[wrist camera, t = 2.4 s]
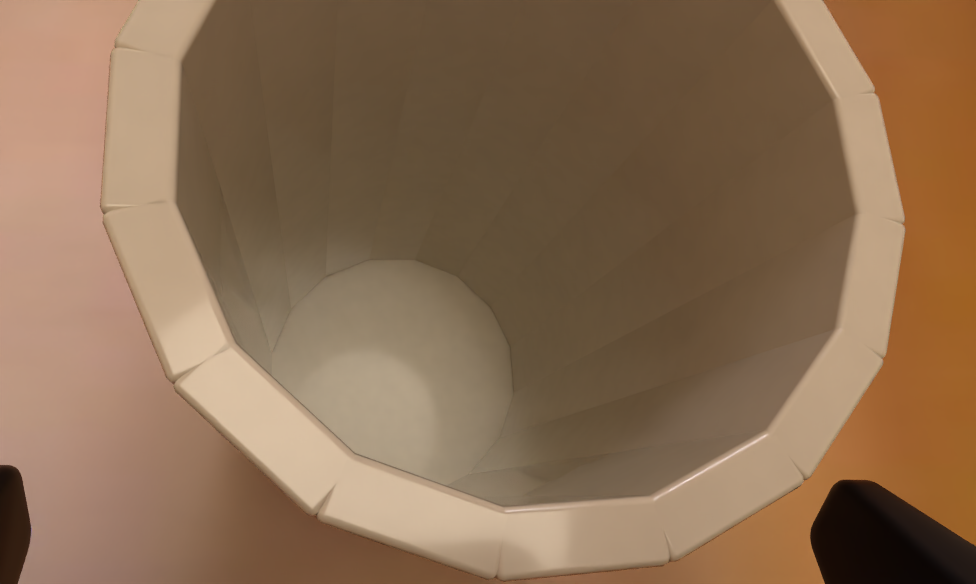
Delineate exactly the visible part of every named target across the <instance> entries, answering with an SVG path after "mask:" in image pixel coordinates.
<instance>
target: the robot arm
mask: <svg viewBox="0 0 976 584" xmlns="http://www.w3.org/2000/svg"><path fill="white" fill-rule="evenodd" d="M30 537H31V524H30V518H29V513H28V507H27V502H26V497H25V492H24V486H23V481H22V477H21V474H20V472H19V470H18V469H17V468H16V467H13V466H10V465H0V584H18V581H19V577H20V574H21V571H22V568H23V565H24V562H25V558H26V555H27V552H28V548H29V544H30ZM810 539H811V545H812V549H813V552H814V555H815V557H816V560H817V563H818V566H819V568H820V571H821V574H822V577H823V579H824V582H825V584H976V546H974V545H972V544H971V543H969V542H968V541H966V540H965V539H963V538H961V537H960V536H958V535H957V534H955V533H954V532H952V531H951V530H949V529H947V528H946V527H944V526H943V525H941V524H940V523H938V522H936V521H935V520H933V519H932V518H930V517H929V516H927V515H926V514H924V513H922V512H921V511H919V510H918V509H916V508H915V507H913V506H911V505H910V504H908V503H907V502H905V501H904V500H902V499H900V498H899V497H897V496H896V495H894V494H893V493H891V492H890V491H888V490H886V489H885V488H883V487H882V486H880V485H879V484H877V483H875V482H872V481H868V480H841V481H838V482H837V483H836V484H834V485H833V487H832V488H831V490H830V492H829V494H828V496H827V498H826V500H825V501H824V503H823V505H822V507H821V509H820V511H819V513H818V515H817V517H816V519H815V521H814V523H813V525H812V527H811V533H810Z"/></svg>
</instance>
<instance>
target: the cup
mask: <svg viewBox="0 0 976 584" xmlns="http://www.w3.org/2000/svg"><path fill="white" fill-rule="evenodd" d="M114 47H115V48H113V50H112V52H111V55H110V67H109V82H108V96H107V111H106V126H105V140H104V155H103V170H102V185H101V199H100V208H101V210H102V212H103V214H104V215H103V225H104V227H105V230H106V232H107V234H108V237H109V239H110V242H111V244H112V247H113V249H114V252H115V254H116V256H117V259H118V261H119V264H120V266H121V269H122V271H123V273H124V276H125V278H126V281H127V283H128V286H129V288H130V291H131V293H132V295H133V298H134V300H135V303H136V305H137V308H138V310H139V313H140V315H141V317H142V320H143V322H144V325H145V327H146V330H147V332H148V334H149V337H150V339H151V342H152V344H153V347H154V349H155V352H156V354H157V356H158V359H159V361H160V364H161V366H162V369H163V371H164V373H165V376H166V378H167V379H168V380H169V381H170V382H171V383H173V384H174V386H173V387H174V389H175V391H176V393H177V394H179V395H180V396H181V397H182V398H183V399H184V400H185V401H186V402H187V403H188V404H189V405H190V406H191V407H192V408H194V409H195V410H196V411H197V412H198V413H199V414H200V415H201V416H202V417H203V418H204V419H205V420H206V421H207V422H209V423H210V424H211V425H212V426H213V427H214V428H215V429H216V430H217V431H218V432H219V433H220V434H221V435H222V436H224V437H225V438H226V439H227V440H228V441H229V442H230V443H231V444H232V445H233V446H234V447H235V448H236V449H237V450H239V451H240V452H241V453H242V454H243V455H244V456H245V457H246V458H247V459H248V460H249V461H250V462H251V463H252V464H254V465H255V466H256V467H257V468H258V469H259V470H260V471H261V472H262V473H263V474H264V475H265V476H266V477H267V478H269V479H270V480H271V481H272V482H273V483H274V484H275V485H276V486H277V487H278V488H279V489H280V490H281V491H282V492H284V493H285V494H286V495H287V496H288V497H289V498H290V499H291V500H292V501H293V502H294V503H295V504H296V505H297V506H299V507H300V508H301V509H302V510H303V511H304V512H305V513H306V514H308V515H310V516H315V515H317V519H318V520H319V521H320V522H321V523H323V524H326V525H329V526H332V527H335V528H337V529H340V530H343V531H346V532H349V533H352V534H355V535H358V536H361V537H364V538H366V539H369V540H372V541H375V542H378V543H381V544H384V545H387V546H390V547H393V548H395V549H398V550H401V551H404V552H407V553H410V554H413V555H416V556H419V557H422V558H425V559H427V560H430V561H433V562H436V563H439V564H442V565H445V566H448V567H451V568H454V569H456V570H459V571H462V572H465V573H468V574H471V575H474V576H477V577H480V578H483V579H485V580H490V579H494V578H495V579H497V580H500V581H503V582H507V581H517V580H527V579H537V578H547V577H558V576H568V575H578V574H588V573H598V572H608V571H619V570H629V569H639V568H649V567H659V566H664V565H665V564H667V563H669V561H670V562H674V561H678V560H680V559H682V558H683V557H685V556H687V555H688V554H690V553H692V552H693V551H695V550H696V549H698V548H700V547H701V546H703V545H705V544H706V543H708V542H710V541H711V540H713V539H715V538H716V537H718V536H719V535H721V534H723V533H724V532H726V531H728V530H729V529H731V528H733V527H734V526H736V525H737V524H739V523H741V522H742V521H744V520H746V519H747V518H749V517H751V516H752V515H754V514H755V513H757V512H759V511H760V510H762V509H764V508H765V507H767V506H769V505H770V504H772V503H774V502H775V501H777V500H778V499H780V498H782V497H783V496H785V495H787V494H788V493H790V492H792V491H793V490H795V489H796V488H798V487H799V486H801V485H802V483H803V482H804V480H807V479H808V478H810V477H811V475H812V474H813V472H814V471H815V469H816V468H817V466H818V464H819V463H820V461H821V460H822V458H823V457H824V455H825V454H826V452H827V450H828V449H829V447H830V446H831V444H832V443H833V441H834V440H835V438H836V436H837V435H838V433H839V432H840V430H841V429H842V427H843V426H844V424H845V423H846V421H847V419H848V418H849V416H850V415H851V413H852V412H853V410H854V409H855V407H856V405H857V404H858V402H859V401H860V399H861V398H862V396H863V395H864V393H865V391H866V390H867V388H868V387H869V385H870V384H871V382H872V381H873V379H874V377H875V376H876V374H877V373H878V371H879V370H880V368H881V367H882V365H883V360H882V359H883V358H884V357H885V355H886V352H887V346H888V339H889V333H890V326H891V320H892V313H893V307H894V301H895V294H896V288H897V281H898V275H899V268H900V262H901V255H902V249H903V243H904V236H905V226H904V225H903V223H904V221H905V216H904V211H903V207H902V202H901V197H900V193H899V188H898V184H897V179H896V174H895V170H894V165H893V161H892V156H891V152H890V147H889V142H888V138H887V133H886V129H885V124H884V119H883V115H882V110H881V106H880V101H879V97H878V96H877V95H876V94H874V92H875V88H874V85H873V84H872V82H871V80H870V79H869V77H868V75H867V74H866V72H865V70H864V69H863V67H862V65H861V64H860V62H859V60H858V59H857V57H856V55H855V53H854V52H853V50H852V48H851V47H850V45H849V43H848V42H847V40H846V38H845V37H844V35H843V33H842V32H841V30H840V28H839V27H838V25H837V23H836V22H835V20H834V18H833V17H832V15H831V13H830V12H829V10H828V8H827V7H826V5H825V3H824V2H823V0H138V2H137V4H136V5H135V7H134V9H133V10H132V12H131V14H130V15H129V17H128V19H127V20H126V22H125V24H124V25H123V27H122V29H121V31H120V32H119V34H118V36H117V37H116V39H115V45H114Z"/></svg>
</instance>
